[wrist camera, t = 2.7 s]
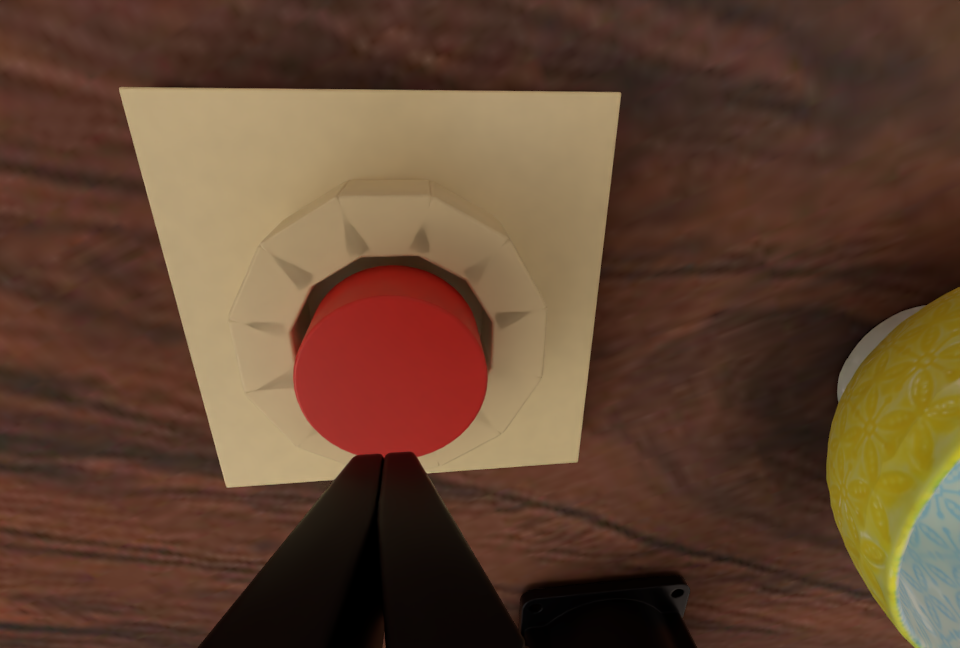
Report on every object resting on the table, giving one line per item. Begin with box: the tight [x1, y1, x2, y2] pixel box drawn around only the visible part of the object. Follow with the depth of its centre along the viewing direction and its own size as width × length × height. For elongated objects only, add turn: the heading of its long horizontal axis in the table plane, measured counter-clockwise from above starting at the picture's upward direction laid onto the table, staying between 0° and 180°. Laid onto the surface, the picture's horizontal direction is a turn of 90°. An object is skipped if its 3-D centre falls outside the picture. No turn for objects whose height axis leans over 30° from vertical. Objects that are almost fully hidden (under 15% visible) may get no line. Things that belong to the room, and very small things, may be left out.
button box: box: [119, 87, 621, 488], centre depth 12 cm, size 10×10×3 cm
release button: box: [293, 265, 488, 457], centre depth 10 cm, size 4×4×2 cm
